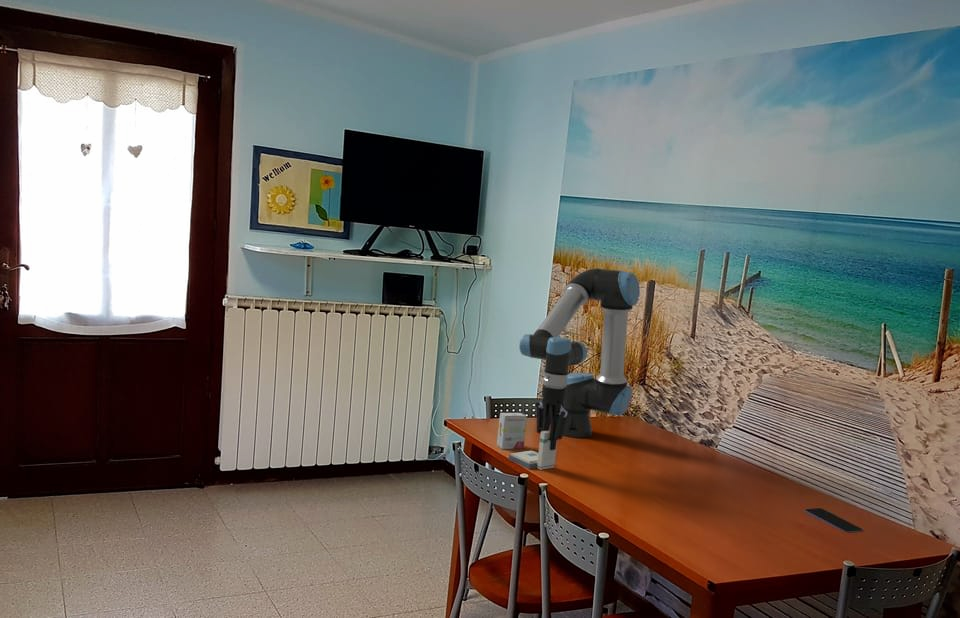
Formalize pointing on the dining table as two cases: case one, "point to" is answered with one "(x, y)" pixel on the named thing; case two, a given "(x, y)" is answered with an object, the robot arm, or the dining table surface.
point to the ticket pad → (525, 459)
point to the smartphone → (833, 520)
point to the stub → (542, 460)
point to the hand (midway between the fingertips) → (546, 457)
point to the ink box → (511, 430)
